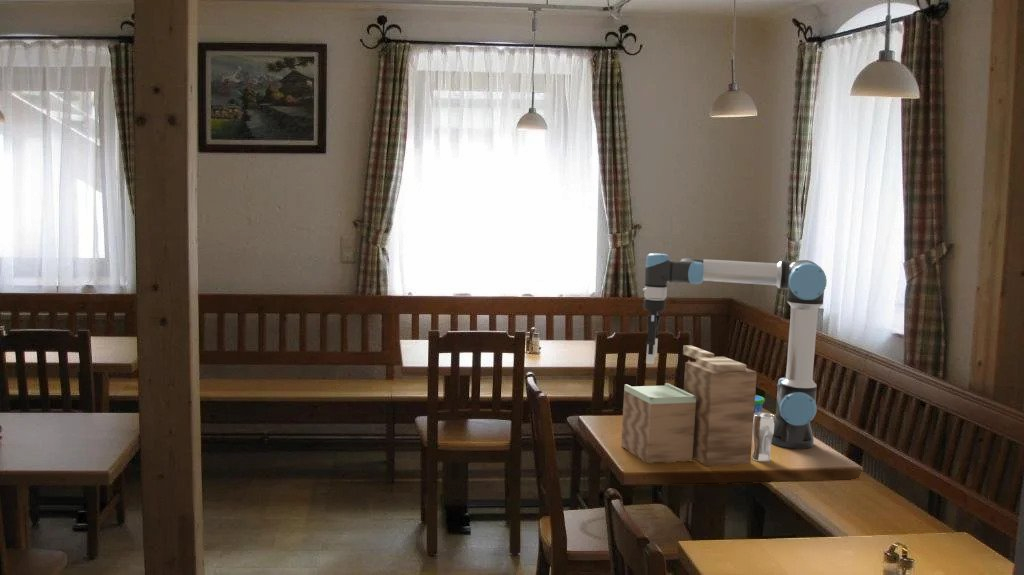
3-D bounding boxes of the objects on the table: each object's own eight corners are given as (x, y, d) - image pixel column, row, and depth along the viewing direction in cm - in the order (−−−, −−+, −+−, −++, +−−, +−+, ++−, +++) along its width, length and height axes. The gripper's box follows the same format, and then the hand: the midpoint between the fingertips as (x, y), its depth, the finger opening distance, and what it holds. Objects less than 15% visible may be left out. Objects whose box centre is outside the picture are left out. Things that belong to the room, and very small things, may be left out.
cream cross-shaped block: (673, 354, 351) (673, 345, 351) (700, 353, 354) (700, 345, 354) (717, 371, 323) (717, 362, 322) (746, 370, 326) (746, 361, 326)
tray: (624, 390, 340) (624, 384, 340) (667, 388, 345) (667, 383, 345) (650, 404, 321) (651, 397, 321) (695, 402, 326) (696, 396, 326)
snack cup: (750, 429, 373) (751, 402, 371) (724, 423, 380) (726, 397, 379) (771, 423, 384) (773, 396, 383) (746, 417, 391) (748, 391, 390)
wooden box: (621, 446, 342) (624, 390, 340) (663, 444, 347) (667, 388, 345) (647, 463, 323) (650, 404, 321) (692, 460, 328) (695, 402, 326)
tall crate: (679, 450, 341) (685, 362, 337) (722, 448, 346) (727, 361, 342) (706, 465, 324) (712, 373, 320) (750, 463, 329) (756, 372, 325)
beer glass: (772, 463, 330) (775, 418, 328) (750, 461, 331) (753, 416, 329) (771, 457, 336) (774, 413, 335) (750, 455, 338) (753, 411, 336)
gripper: (646, 294, 360) (643, 353, 362) (641, 302, 335) (637, 365, 338) (668, 295, 358) (664, 354, 361) (664, 303, 334) (660, 367, 336)
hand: (651, 360), depth 349 cm, fingers open, 13 cm apart
